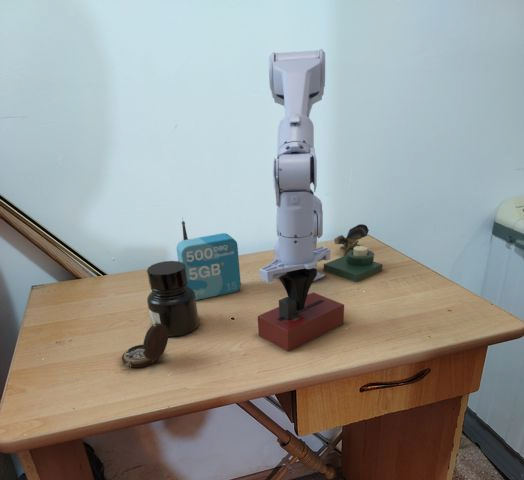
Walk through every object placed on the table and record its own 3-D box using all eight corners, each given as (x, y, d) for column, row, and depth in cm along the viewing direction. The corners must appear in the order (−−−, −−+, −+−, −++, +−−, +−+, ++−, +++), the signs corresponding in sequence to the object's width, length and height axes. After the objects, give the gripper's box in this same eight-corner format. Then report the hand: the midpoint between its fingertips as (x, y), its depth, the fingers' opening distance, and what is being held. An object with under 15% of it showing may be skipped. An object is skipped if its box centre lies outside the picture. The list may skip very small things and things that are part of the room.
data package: (188, 302, 99) (180, 247, 93) (183, 294, 103) (175, 241, 97) (241, 290, 103) (237, 237, 97) (234, 283, 107) (230, 231, 100)
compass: (136, 347, 84) (128, 310, 80) (174, 354, 81) (167, 317, 78) (107, 370, 78) (97, 332, 74) (147, 379, 75) (138, 340, 71)
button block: (323, 270, 110) (323, 256, 109) (351, 259, 116) (352, 245, 114) (356, 282, 104) (357, 267, 102) (385, 269, 109) (386, 255, 107)
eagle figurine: (367, 254, 115) (375, 236, 121) (351, 230, 113) (360, 213, 119) (342, 266, 120) (351, 248, 126) (326, 244, 118) (336, 227, 124)
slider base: (258, 335, 85) (257, 315, 83) (313, 310, 93) (313, 291, 91) (288, 351, 80) (287, 330, 78) (343, 323, 87) (344, 304, 85)
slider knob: (279, 315, 83) (278, 300, 81) (287, 311, 84) (287, 296, 82) (288, 319, 81) (287, 304, 80) (296, 316, 82) (296, 300, 81)
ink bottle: (159, 315, 95) (148, 258, 88) (202, 314, 94) (194, 257, 88) (147, 339, 86) (134, 279, 80) (195, 338, 86) (185, 277, 80)
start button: (350, 255, 109) (350, 248, 108) (359, 252, 111) (359, 244, 110) (361, 258, 107) (361, 251, 106) (370, 255, 109) (370, 247, 108)
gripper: (279, 249, 70) (282, 329, 77) (344, 227, 78) (341, 301, 85) (249, 239, 75) (254, 315, 82) (314, 219, 82) (314, 290, 89)
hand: (297, 307), depth 83 cm, fingers closed
